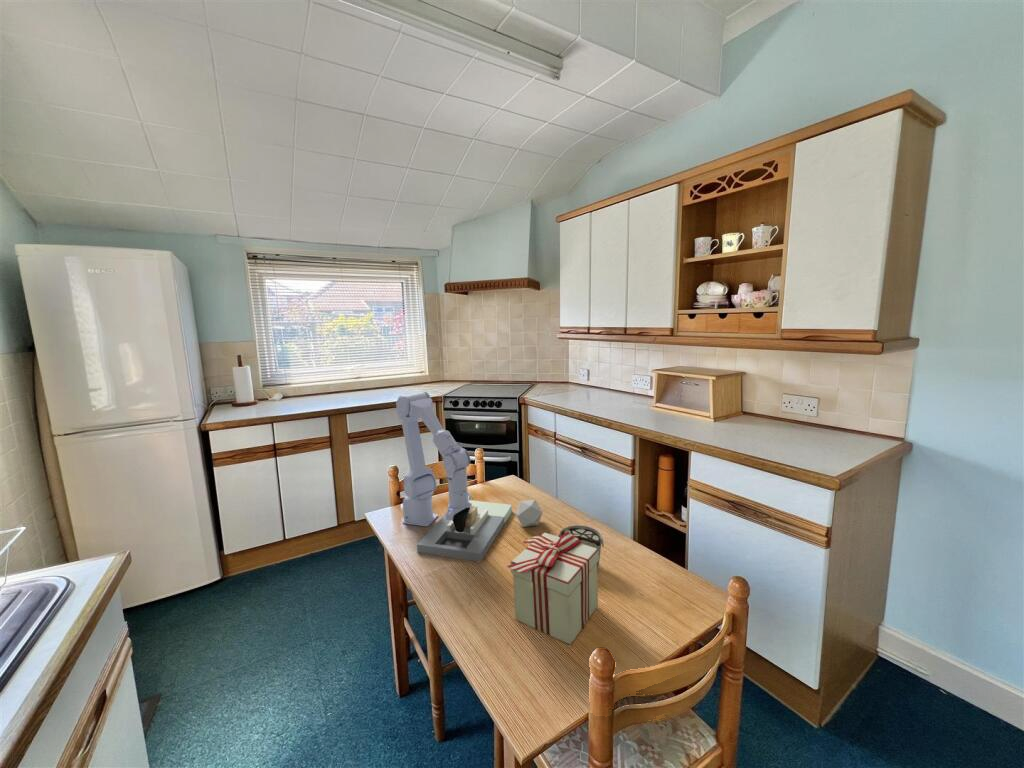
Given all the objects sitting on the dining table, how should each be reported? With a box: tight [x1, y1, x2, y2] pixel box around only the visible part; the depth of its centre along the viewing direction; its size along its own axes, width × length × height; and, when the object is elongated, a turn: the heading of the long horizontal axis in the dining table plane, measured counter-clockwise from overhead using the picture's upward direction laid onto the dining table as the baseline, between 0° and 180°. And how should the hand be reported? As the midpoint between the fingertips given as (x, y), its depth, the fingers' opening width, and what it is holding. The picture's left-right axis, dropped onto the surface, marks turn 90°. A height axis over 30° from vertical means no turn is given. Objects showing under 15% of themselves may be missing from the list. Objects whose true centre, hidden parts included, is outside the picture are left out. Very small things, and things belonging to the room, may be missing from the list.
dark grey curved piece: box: [558, 524, 605, 575], centre depth 115 cm, size 12×6×10 cm, turn 65°
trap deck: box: [416, 499, 513, 563], centre depth 136 cm, size 20×31×4 cm, turn 163°
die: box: [515, 499, 543, 528], centre depth 138 cm, size 8×9×10 cm
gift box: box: [506, 532, 600, 645], centre depth 96 cm, size 17×18×17 cm
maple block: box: [465, 506, 478, 528], centre depth 135 cm, size 5×5×5 cm
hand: (460, 530), depth 129 cm, fingers closed
